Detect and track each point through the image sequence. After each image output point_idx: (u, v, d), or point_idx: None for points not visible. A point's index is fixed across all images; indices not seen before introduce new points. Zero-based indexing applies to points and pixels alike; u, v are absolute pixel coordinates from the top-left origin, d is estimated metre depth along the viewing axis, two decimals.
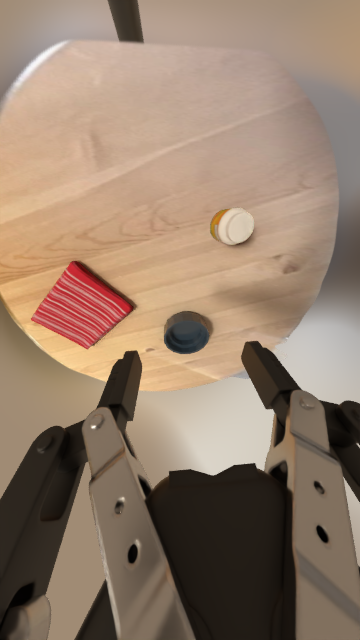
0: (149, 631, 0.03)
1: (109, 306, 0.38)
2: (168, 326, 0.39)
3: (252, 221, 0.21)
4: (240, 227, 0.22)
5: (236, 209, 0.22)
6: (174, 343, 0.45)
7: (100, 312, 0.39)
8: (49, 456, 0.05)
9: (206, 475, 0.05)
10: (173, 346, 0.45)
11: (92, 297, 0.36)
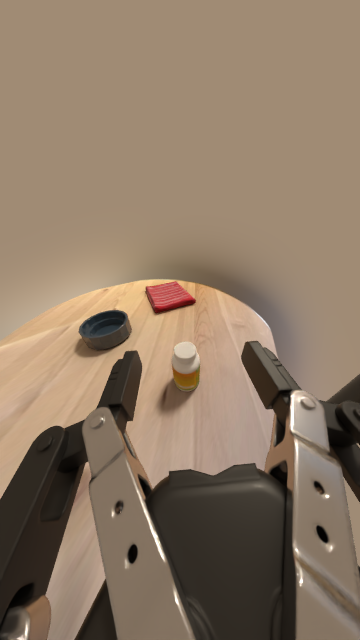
0: (149, 631, 0.03)
1: (164, 302, 0.56)
2: (127, 316, 0.44)
3: (187, 357, 0.23)
4: (185, 348, 0.25)
5: (198, 359, 0.26)
6: (105, 319, 0.46)
7: (163, 299, 0.59)
8: (49, 456, 0.05)
9: (206, 475, 0.05)
10: (104, 316, 0.46)
11: (174, 299, 0.58)
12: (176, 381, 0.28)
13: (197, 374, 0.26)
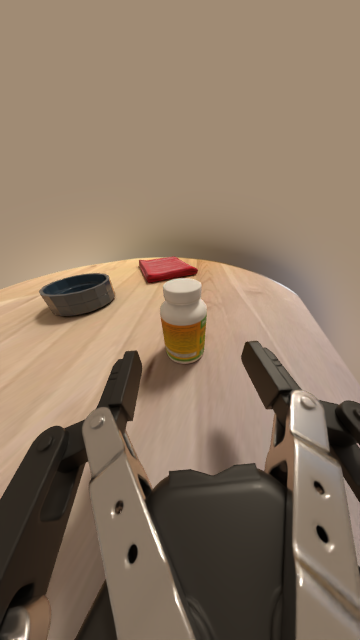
0: (149, 631, 0.03)
1: (159, 272, 0.46)
2: None
3: (185, 291, 0.13)
4: (183, 284, 0.14)
5: (204, 306, 0.15)
6: (83, 284, 0.36)
7: (158, 270, 0.49)
8: (49, 456, 0.05)
9: (206, 475, 0.05)
10: (81, 281, 0.36)
11: (171, 270, 0.47)
12: (168, 346, 0.17)
13: (202, 332, 0.16)
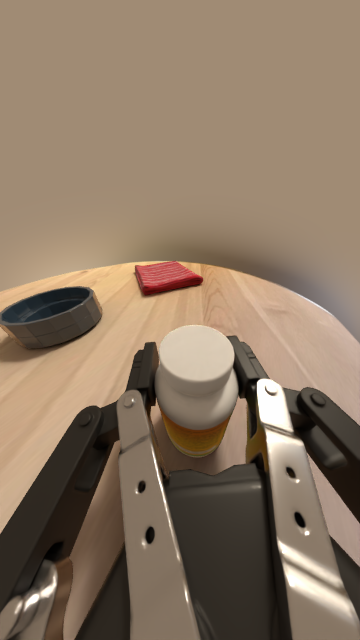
0: (149, 631, 0.03)
1: (158, 282, 0.39)
2: (95, 295, 0.27)
3: (206, 375, 0.06)
4: (198, 345, 0.08)
5: (235, 378, 0.08)
6: (62, 300, 0.29)
7: (157, 278, 0.42)
8: (91, 430, 0.06)
9: (206, 475, 0.05)
10: (60, 296, 0.29)
11: (172, 278, 0.40)
12: (169, 433, 0.10)
13: (228, 420, 0.09)
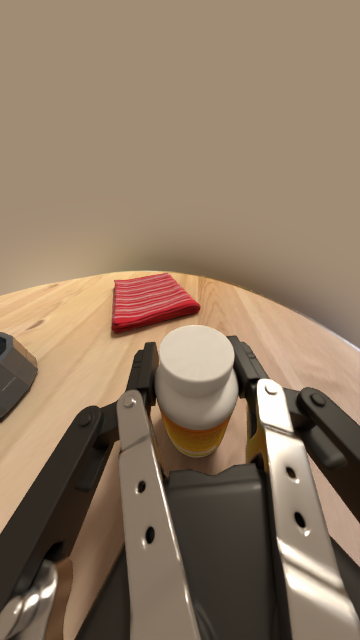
0: (149, 631, 0.03)
1: (138, 310, 0.28)
2: (16, 354, 0.16)
3: (206, 376, 0.06)
4: (198, 345, 0.08)
5: (235, 378, 0.08)
6: None
7: (138, 303, 0.31)
8: (91, 430, 0.06)
9: (206, 475, 0.05)
10: None
11: (158, 304, 0.29)
12: (169, 433, 0.10)
13: None
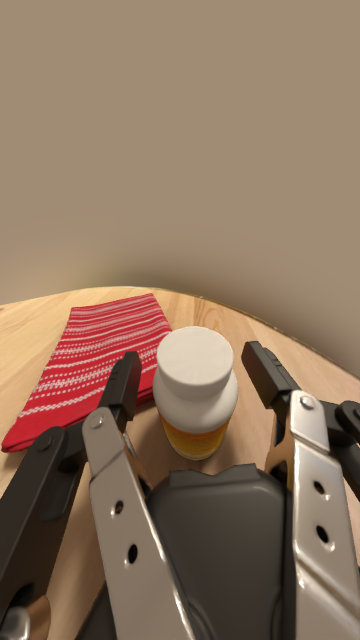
0: (149, 631, 0.03)
1: (81, 384, 0.15)
2: None
3: (204, 379, 0.06)
4: (196, 347, 0.07)
5: (234, 381, 0.08)
6: None
7: (91, 359, 0.18)
8: (49, 456, 0.05)
9: (206, 475, 0.05)
10: None
11: None
12: (168, 436, 0.10)
13: (228, 422, 0.09)
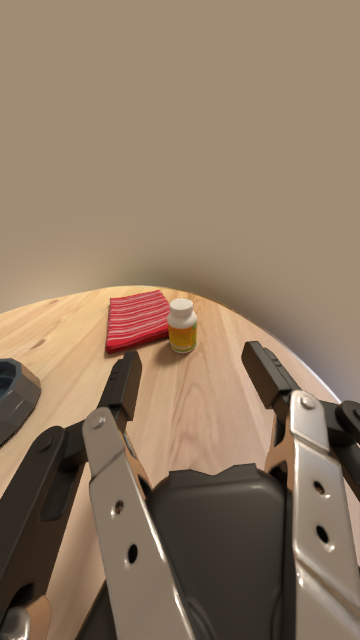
0: (149, 631, 0.03)
1: (129, 331, 0.31)
2: (24, 379, 0.20)
3: (183, 308, 0.22)
4: (182, 303, 0.24)
5: (195, 316, 0.25)
6: None
7: (130, 323, 0.34)
8: (49, 456, 0.05)
9: (206, 475, 0.05)
10: None
11: (147, 324, 0.33)
12: (172, 342, 0.26)
13: (194, 333, 0.25)
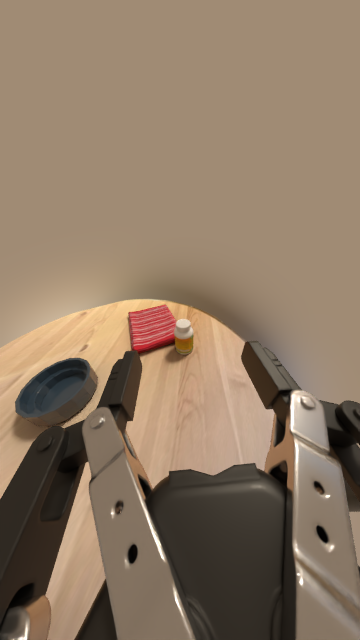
0: (149, 631, 0.03)
1: (146, 339, 0.45)
2: (91, 370, 0.33)
3: (184, 327, 0.36)
4: (183, 322, 0.37)
5: (192, 330, 0.38)
6: (65, 369, 0.36)
7: (146, 332, 0.48)
8: (49, 456, 0.05)
9: (206, 475, 0.05)
10: (63, 366, 0.36)
11: (159, 334, 0.47)
12: (177, 347, 0.40)
13: (191, 341, 0.39)
